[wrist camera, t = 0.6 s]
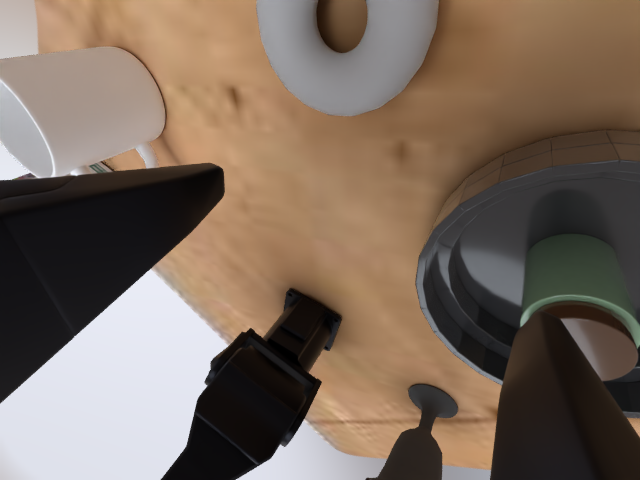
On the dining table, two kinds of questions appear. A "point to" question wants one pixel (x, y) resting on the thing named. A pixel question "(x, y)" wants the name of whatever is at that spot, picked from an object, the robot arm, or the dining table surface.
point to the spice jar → (584, 299)
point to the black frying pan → (528, 241)
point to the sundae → (420, 439)
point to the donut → (354, 66)
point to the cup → (78, 109)
